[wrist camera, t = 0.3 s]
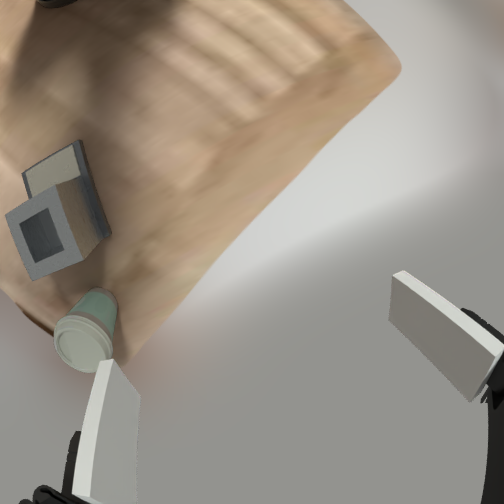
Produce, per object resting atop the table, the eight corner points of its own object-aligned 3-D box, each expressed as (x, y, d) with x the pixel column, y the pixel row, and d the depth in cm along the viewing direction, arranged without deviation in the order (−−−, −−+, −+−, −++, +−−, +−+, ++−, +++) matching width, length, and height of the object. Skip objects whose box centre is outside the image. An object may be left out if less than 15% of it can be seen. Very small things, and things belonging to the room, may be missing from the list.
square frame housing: (25, 172, 27) (-11, 181, 19) (81, 140, 29) (50, 138, 20) (55, 256, 33) (27, 283, 25) (111, 233, 34) (90, 257, 26)
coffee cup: (89, 268, 35) (59, 311, 24) (135, 299, 38) (120, 349, 27) (71, 306, 36) (44, 353, 25) (113, 333, 40) (97, 384, 29)
